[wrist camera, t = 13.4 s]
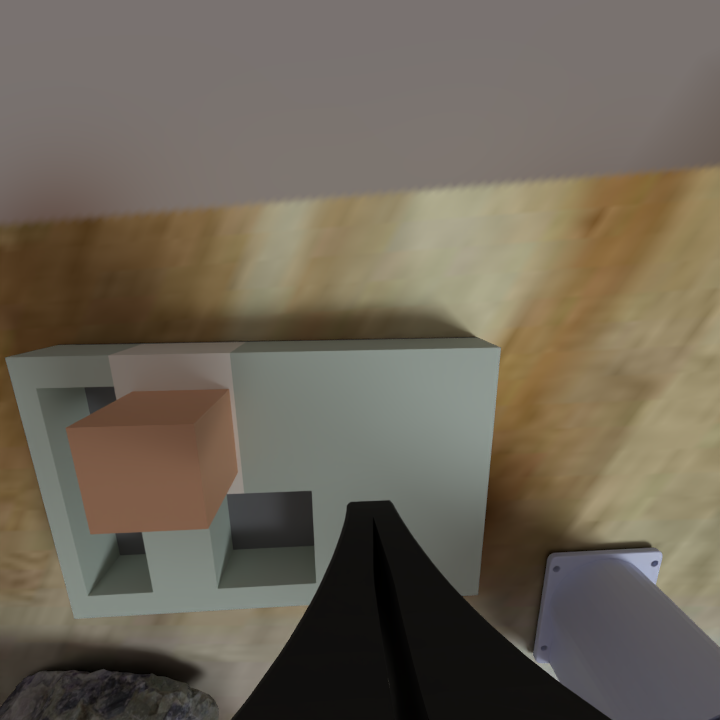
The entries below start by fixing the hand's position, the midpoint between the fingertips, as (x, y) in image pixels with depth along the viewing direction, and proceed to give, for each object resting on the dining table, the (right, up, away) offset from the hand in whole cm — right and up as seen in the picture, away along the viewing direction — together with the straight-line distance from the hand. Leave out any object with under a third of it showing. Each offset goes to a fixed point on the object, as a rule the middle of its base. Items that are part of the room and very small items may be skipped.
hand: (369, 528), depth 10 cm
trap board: (-5, -1, +10) cm, 11 cm away
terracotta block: (-9, +2, +6) cm, 11 cm away
